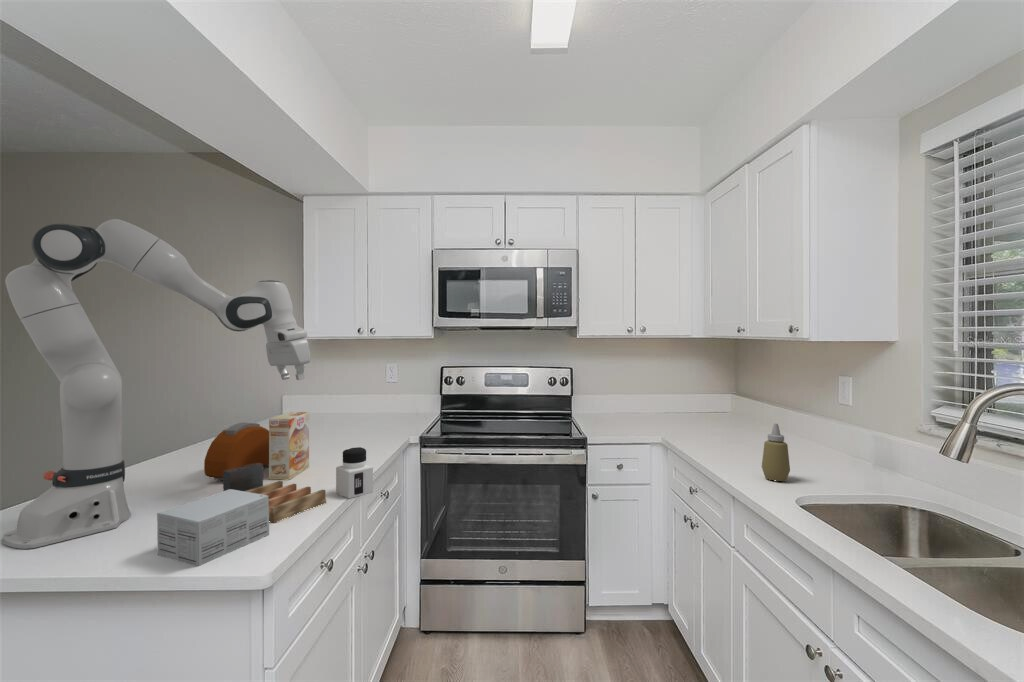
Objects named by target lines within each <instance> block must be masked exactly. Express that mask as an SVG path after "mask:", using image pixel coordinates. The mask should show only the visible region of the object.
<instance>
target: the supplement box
mask: <svg viewBox="0 0 1024 682" xmlns="http://www.w3.org/2000/svg"><path fill="white" fill-rule="evenodd" d="M156 523H157V525H156V527H157V528H156V529H157V532H156V533H157V539H156V540H157V556H159V557H162V558H165V559H169V560H173V561H177V562H179V563H184V564H188V565H191V566H193V567H200V566H202V565H205V564H207V563H209V562H212V561H214V560H216V559H219V558H221V557H223V556H225V555H227V554H230V553H232V552H233V551H236V550H238V549H241V548H242V547H245V546H247V545H249V544H251V543H253V542H255V541H258V540H260V539H263V538H264V537H267V536H269V535H270V522H269V499H268V496H267V495H262V494H256V493H250V492H244V491H239V490H233V489H229V490H226V491H223V490H222V491H220V492H217V493H214V494H211V495H209V496H205V497H202V498H198V499H196V500H192V501H190V502H187V503H184V504H180V505H178V506H174V507H172V508H169V509H165V510H162V511H159V512H157V513H156Z"/></svg>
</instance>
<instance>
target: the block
mask: <svg viewBox="0 0 1024 682" xmlns="http://www.w3.org/2000/svg"><path fill="white" fill-rule="evenodd" d="M222 482H223V487H222V489H223V490H222V492H223V491H226V490H229V489H233V490H239V491H247V490H251V489H254V488H257V487H261V486H264V468H263V464H261V463H253V464H249V465H245V466H241V467H237V468H233V469H229V470H225V471H223V480H222Z"/></svg>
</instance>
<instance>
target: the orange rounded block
mask: <svg viewBox="0 0 1024 682" xmlns="http://www.w3.org/2000/svg"><path fill="white" fill-rule="evenodd" d="M203 461H204V464H203V466H204V467H203V470H204V475H205V476H207V477H209V478H213V479H214V480H216V479H221V480H220V481H223V471H225V470H229V469H233V468H237V467H241V466H245V465H249V464H253V463H261V464H263V467H265V468H266V469H267V468H268V469H269V429H268V428H265V427H263V426H261V424H260V423H256V422H238V423H235V424H233V425H231V426H230V427H227V428H225V429H223V430H222V431H221V432H220V433H219V434H217V436H215V438H214V439H213V440H212V441H211V444H210V445H209V447H208V448H207V451H206V455H205V457H204V460H203Z"/></svg>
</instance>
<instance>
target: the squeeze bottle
mask: <svg viewBox="0 0 1024 682" xmlns="http://www.w3.org/2000/svg"><path fill="white" fill-rule="evenodd" d="M788 446H789V445H788V443H786V442H785V435H784V434H781V430H780V426H779V424H778V423H773V425H772V430H771V433H769V434H767V440H766V441H764V443H763V450H762V451H763V452H762V460H761V461H762V462H761V468H762V472H763V475H764V478H765V479H766V478H767V479H770V480H776V481H784V482H786V481H787V480H788V478H789V474H790V472H791V465H790V456H789V447H788ZM767 479H766V480H767ZM770 480H769V481H770ZM785 480H786V481H785Z"/></svg>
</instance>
